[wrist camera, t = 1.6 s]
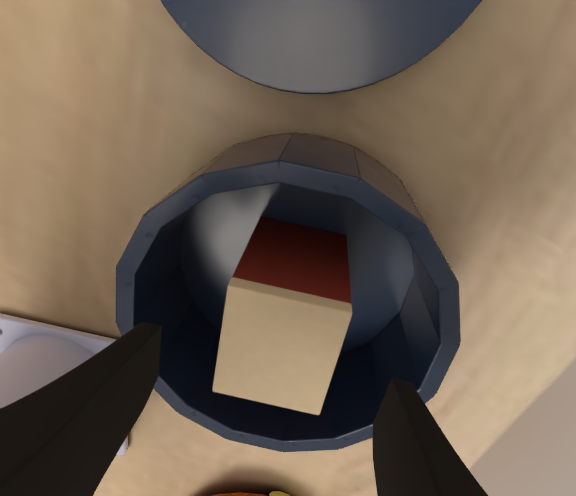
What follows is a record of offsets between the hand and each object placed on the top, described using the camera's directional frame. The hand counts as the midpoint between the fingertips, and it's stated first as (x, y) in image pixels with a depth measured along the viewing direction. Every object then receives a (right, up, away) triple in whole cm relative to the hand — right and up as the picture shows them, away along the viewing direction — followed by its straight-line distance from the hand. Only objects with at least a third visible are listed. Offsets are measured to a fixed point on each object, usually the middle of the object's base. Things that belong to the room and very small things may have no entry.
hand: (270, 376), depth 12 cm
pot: (+1, +3, +7) cm, 8 cm away
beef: (+1, +3, +7) cm, 7 cm away
